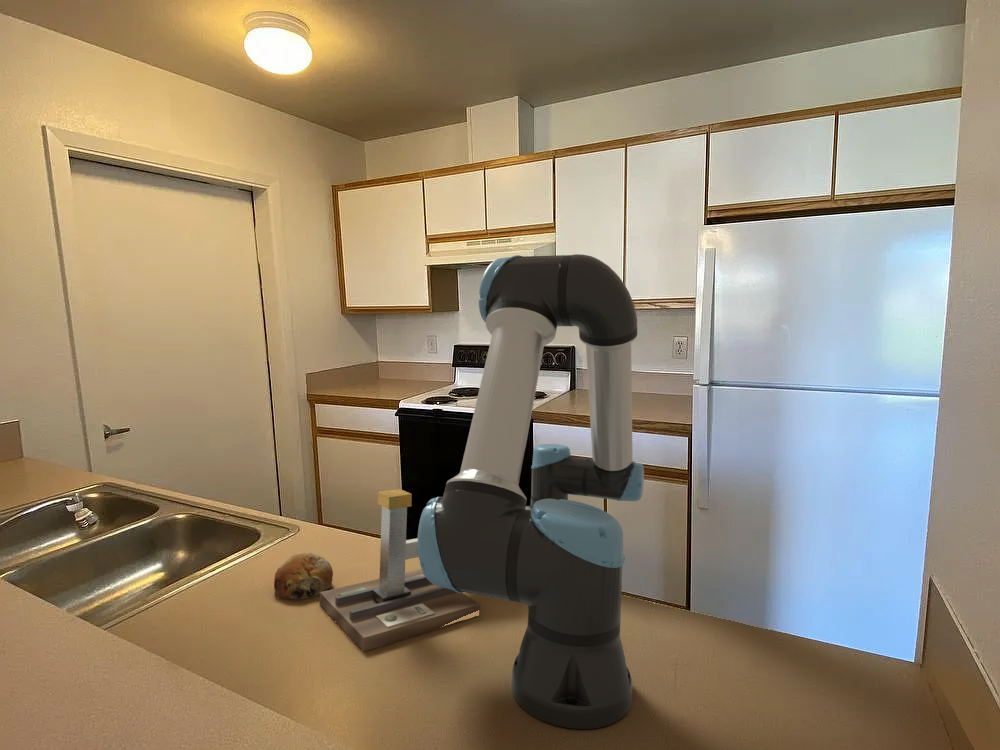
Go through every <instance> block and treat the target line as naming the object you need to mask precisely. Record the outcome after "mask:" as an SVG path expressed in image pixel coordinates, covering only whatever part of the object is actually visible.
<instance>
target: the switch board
mask: <svg viewBox="0 0 1000 750" xmlns="http://www.w3.org/2000/svg"><path fill="white" fill-rule="evenodd" d="M379 579H380V578H377V579H372V580H368V581H364V582H363V581H362V582H359V583H355V584H350V585H346V586H342V587H338V588H332V589H328V590H327V591H323V592H320V595H319V605H320V606H321V607H322V609H323V610H324V611H325V612H326V613H327V614H328V615H329V616H330V618H332V619H333V621H335V622H336V624H337V625H338V626H339V627H340V628H341V629H342V631H343V632H345V634H347V636H348V637H349V638H350V639H351V640H352V641H353V642H354V644H356V645H357V646H358V648H359V649H360V650H361V651H362V652H363V653H364V652H367V651H370V650H374V649H377V648H380V647H384V646H387V645H389V644H390V645H391V644H393V643H397V642H400V641H404V640H406V639H410V638H413V637H416V636H419V635H422V634H423V635H424V634H426V633H430V632H433V631H435V630H438V629H437V628H439V629H441V628H440V627H442V626H444V625H445V624H448V623H450V622H452V621H454V620H457V619H459V618H461V617H463V616H466V615H468V614H471V613H473V612H476V611H478V610H480V609H481V608H480V606H481V604H480V603H479V602H477V600H475V599H473V598H472V597H470V596H469V595H467V594H466V593H465V592H462V593H457V592H455V591H453V590H451V589H447V588H443V587H439V586H436V585H434V584H432V583H431V582H430V581H429V580H428V579H427V578H426V577H425V575H424V573H423V571H422V568H420V569H416V570H412V571H408V572H405V583H404V586H405V587H406V588H408V589H409V590H410V591H411V595H409V596H406V597H402V598H398V599H394V600H390V601H386V602H382V603H379V602H378V601H376V600H375V599H374V598H373V597H372V589H376V588H379ZM442 628H443V627H442Z"/></svg>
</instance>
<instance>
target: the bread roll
mask: <svg viewBox="0 0 1000 750" xmlns="http://www.w3.org/2000/svg"><path fill="white" fill-rule="evenodd" d="M333 575H334V571H333V567H332V565H331V564H330V562H329V561H328V560H327V559H326V558H324V557H323V556H320V555H319V554H316V553H312V552H303V553H294V554H293V555H291V556H290V557H289V558H288V559H286V560H285V562H283V563H282V564H281V565H280V566H278V567H277V570H276V572H275V573H274V581H273V584H274V585H273V590H274V593H275V594H276V595H277V596H278V597H279V598H281V599H284V600H306V599H311V598H314V597H318V596H320V592H323V591H327V590H330V588H331V587H332V584H333Z"/></svg>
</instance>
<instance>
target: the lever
mask: <svg viewBox="0 0 1000 750" xmlns="http://www.w3.org/2000/svg"><path fill="white" fill-rule="evenodd" d="M412 496H413V495H412V493H410V492H408V491H406V490H403V489H401V488H400V489H399V488H398V489H389V490H381V491H378V492H377V505H379V506H381V522H380V523H381V525H380V528H381V529H380V551H379V552H380V554H379V555H380V556H379V558H380V559H379V578H378V579H379V588H376V589H372V597H373V598H374V599H375V600H376V601H378V602H379V603H382V602H386V601H390V600H394V599H398V598H402V597H406V596H409V595H411V591H410V590H409V589H408V588H406V587H405V586H404V583H405V573H406V560H405V554H406V540H407V525H408V524H407V522H408V520H407V519H408V517H407V516H408V508H409V507H412V500H413V499H412V498H413V497H412Z"/></svg>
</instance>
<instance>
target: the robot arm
mask: <svg viewBox="0 0 1000 750" xmlns="http://www.w3.org/2000/svg"><path fill="white" fill-rule="evenodd" d="M478 294H479V296H480V297H479V299H478V310H479V315H480V317H481V319H482V320H483V322H484V323H485V328H486V329H487V331H488V333H489V334H490V335H491V338H490V343H489V346H488V347H489V348H488V351H487V355H486V359H485V364H484V367H483V372H482V378H481V379H480V385H479V389H478V394H477V398H476V403H475V405H474V406H475V407H474V410H473V416H472V419H471V423H470V428H469V432H468V436H467V441H466V445H465V450H464V453H463V458H462V461H461V466H460V471H459V473H458V474H457V475H455V476H454V477H452V478H450V479H448V480H447V482H445V487H444V491H443V496H437V497H433V498H431V499H429V500H428V502H427V503H426V506H425V507H424V508H423V509H422V512H421V515H420V519H419V522H418V523H419V524H418V530H417V537H416V538H412V539H411V538H410V539H406V554H405V561H406V560H410V559H414V558H415V559H416V558H418V560H419V565H420V569H422V571H423V573H424V575H425V577H426V578H427V579H428V580H429V581H430V582H431V583H432V584H434V585H436V586H439V587H443V588H447V589H451V590H453V591H455V592H457V593H464V594H471V595H475V596H476V595H477V596H478V595H479V596H483V597H488V598H493V599H499V600H504V601H510V602H515V603H520V604H524V605H527V610H528V611H527V626H526V629H525V632H524V634H523V638H522V641H521V644H520V647H519V651H518V654H517V656H516V657H515V659H514V661H513V664H512V668H511V669H512V671H511V692H512V695H513V697H514V699H515V702H517V703H518V704H519V706H520V707H521V708H522V709H523V710H524V711H526V712H527V713H529V714H530V715H531V716H533V717H535V718H537V719H538V720H541V721H542V722H544V723H548V724H551V725H554V726H557V727H562V728H566V729H567V728H568V729H573V730H574V729H576V730H590V729H597V728H598V729H599V728H603V727H606V726H607V727H608V726H609V725H613V724H614V723H617V722H618V721H620V720H621V719H623V717H625V716H626V715H627V713H628V712H629V710H630V709H631V706H632V703H633V702H632V701H633V700H632V699H633V680H632V676H631V672H630V670H629V668H628V667H627V661H626V657H625V653H624V652H625V651H624V648H623V644H622V640H621V639H622V638H621V619H622V618H621V617H622V615H621V614H622V589H623V587H622V586H623V585H622V584H623V566H624V565H625V560H626V557H625V553H624V531H623V528H622V526H621V524H620V522H619V521H618V520H617V519H616V518H615V517H614V516H613V515H611V514H610V513H608V512H607V511H605V510H602V509H601V508H599V507H596V506H594V505H591V504H587V503H584V502H580V501H576V500H571V499H569V495H572V496H580V497H581V496H582V497H591V498H599V499H606V500H614V501H618V502H638V501H640V500H642V497H643V494H644V493H643V491H644V482H645V481H644V480H645V478H644V477H645V469H644V468H645V467H644V464H642V463H640V462H636V461H633V397H632V396H633V395H632V393H633V387H632V385H633V383H632V378H633V377H632V375H633V374H632V343H633V342H634V341H635V340H636V339H637V337H638V316H637V312H636V311H637V310H636V306H635V304H634V301H633V299H632V297H631V294H630V292H629V289H628V288H627V287H626V285H625V283H624V281H623V280H622V279H621V278H620V276H619V275H618V274H617V273H616V272H615V271H614V270H613V269H612V268H611V267H610V265H608V264H607V263H605V262H604V261H602V260H601V259H599V258H597V257H594V256H591V255H588V254H587V255H586V254H578V253H577V254H576V253H575V254H567V255H566V254H560V255H559V254H558V255H533V256H532V255H530V256H529V255H528V256H527V255H526V256H523V255H518V254H517V255H513V256H508V257H507V256H506V257H500V258H499V257H498V258H497V259H495V260H493V261H492V262H491V263H490V264H489V265H488V266H487V268H486V269H485V271H484V273H483V275H482V277H481V280H480V285H479V291H478ZM558 327H577V328H578V335H579V339H580V341H581V342H582V344H584V345H585V351H586V352H585V353H586V368H587V369H586V370H587V371H586V372H587V387H588V388H587V389H588V404H589V405H588V406H589V421H590V438H591V441H590V442H591V455H592V457H591V458H590V457H581V456H572V455H571V450H570V447H568V446H566V445H564V444H558V443H557V444H556V443H541V444H538V445H536V446H535V447H534V448H533V451H532V453H533V454H532V465H531V467H530V469H531V481H530V482H531V483H530V484H531V485H530V487H531V489H530V491H531V492H530V493H531V495H530V505H527V500H528V499H527V497H526V495H525V494H524V492H523V491H522V489H521V488H520V485H519V484H520V479H521V473H522V468H523V467H522V466H523V462H524V457H525V451H526V447H527V441H528V435H529V429H530V423H531V420H532V419H531V418H532V413H533V408H534V404H535V396H536V392H537V386H538V382H539V381H538V380H539V375H540V371H541V370H540V369H541V365H542V359H543V354H544V353H543V352H544V350H545V349H544V347H546V346H547V345H549V344H550V343H552V342H553V341H554V340H555V338H556V334H557V328H558Z"/></svg>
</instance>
